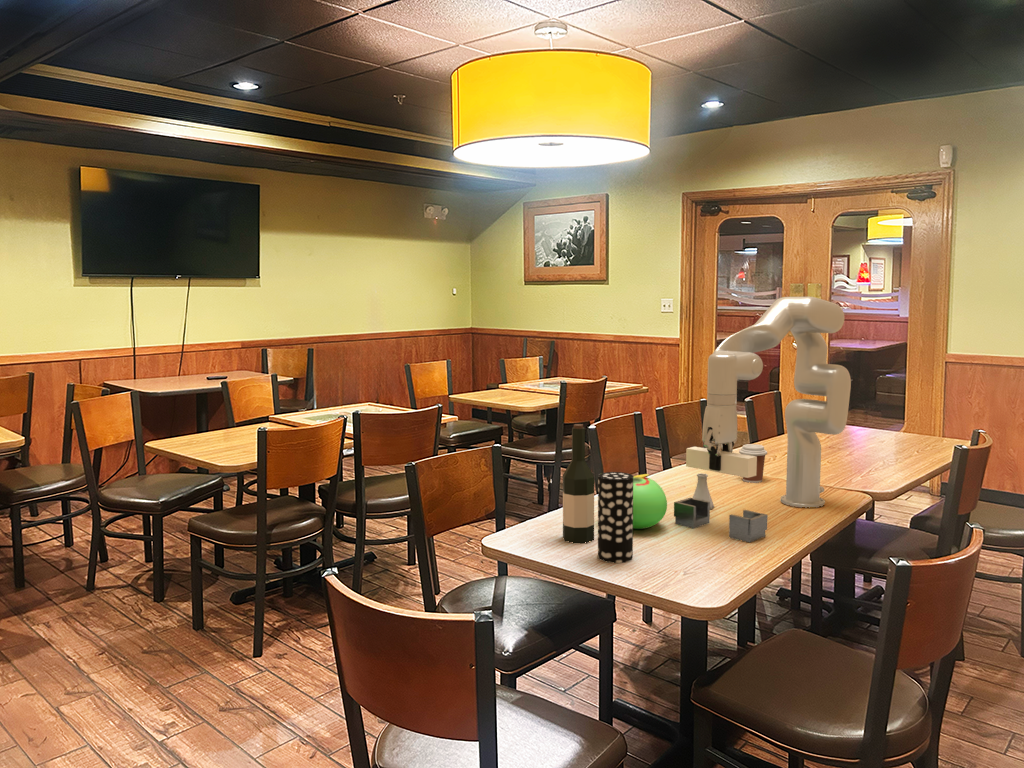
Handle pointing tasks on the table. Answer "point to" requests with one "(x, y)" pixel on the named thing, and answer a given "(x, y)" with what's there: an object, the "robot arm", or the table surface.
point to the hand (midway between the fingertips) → (720, 467)
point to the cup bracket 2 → (748, 526)
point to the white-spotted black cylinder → (615, 517)
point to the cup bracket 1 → (692, 512)
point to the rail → (723, 462)
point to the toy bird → (647, 502)
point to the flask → (703, 490)
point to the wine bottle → (578, 493)
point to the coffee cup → (760, 453)
